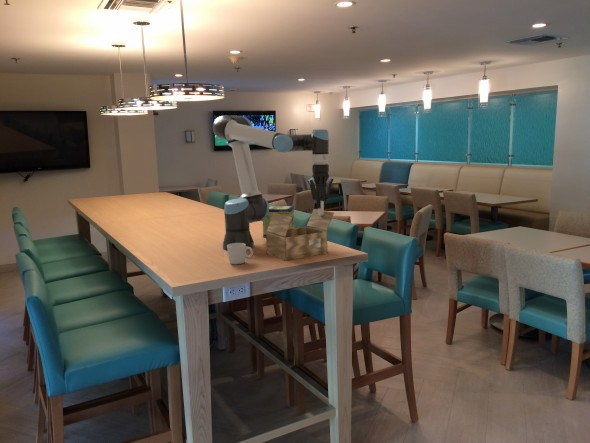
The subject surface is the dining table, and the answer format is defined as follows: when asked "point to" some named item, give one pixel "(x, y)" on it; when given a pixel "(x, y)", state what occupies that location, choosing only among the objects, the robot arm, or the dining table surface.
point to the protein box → (278, 210)
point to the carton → (297, 243)
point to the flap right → (320, 220)
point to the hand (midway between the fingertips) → (320, 215)
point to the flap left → (279, 224)
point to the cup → (238, 253)
